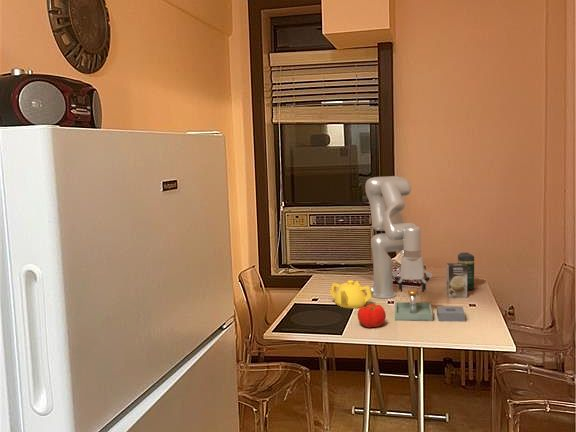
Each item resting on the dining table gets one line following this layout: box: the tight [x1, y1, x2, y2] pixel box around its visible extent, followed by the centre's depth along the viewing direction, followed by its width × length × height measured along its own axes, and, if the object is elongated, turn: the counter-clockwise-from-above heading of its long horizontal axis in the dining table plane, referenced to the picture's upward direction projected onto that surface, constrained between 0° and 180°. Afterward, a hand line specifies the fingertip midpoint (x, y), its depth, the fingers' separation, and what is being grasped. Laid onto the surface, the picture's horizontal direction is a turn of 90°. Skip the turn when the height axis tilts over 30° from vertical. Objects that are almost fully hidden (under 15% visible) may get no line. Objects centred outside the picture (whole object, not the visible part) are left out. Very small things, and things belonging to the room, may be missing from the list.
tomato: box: [357, 303, 387, 328], centre depth 258 cm, size 13×12×8 cm
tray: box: [394, 301, 434, 322], centre depth 272 cm, size 16×19×3 cm
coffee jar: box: [457, 252, 475, 291], centre depth 314 cm, size 10×8×19 cm
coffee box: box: [446, 262, 468, 299], centre depth 299 cm, size 9×6×16 cm
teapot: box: [329, 279, 373, 309], centre depth 292 cm, size 17×17×12 cm
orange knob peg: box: [407, 289, 419, 314], centre depth 272 cm, size 4×4×10 cm
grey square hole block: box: [436, 305, 466, 322], centre depth 265 cm, size 11×11×4 cm
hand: (412, 291), depth 272 cm, fingers open, 9 cm apart
